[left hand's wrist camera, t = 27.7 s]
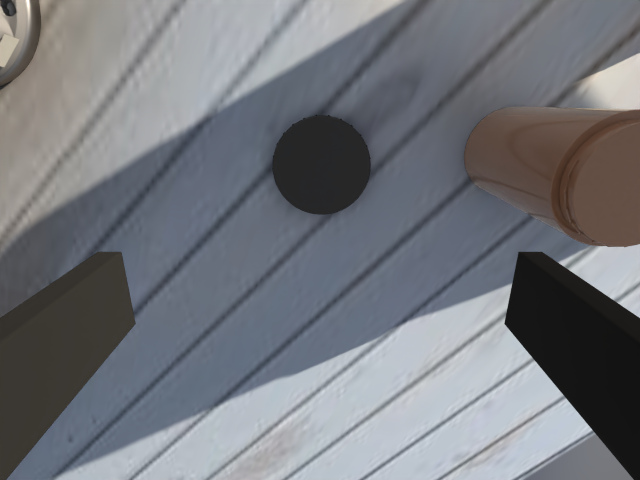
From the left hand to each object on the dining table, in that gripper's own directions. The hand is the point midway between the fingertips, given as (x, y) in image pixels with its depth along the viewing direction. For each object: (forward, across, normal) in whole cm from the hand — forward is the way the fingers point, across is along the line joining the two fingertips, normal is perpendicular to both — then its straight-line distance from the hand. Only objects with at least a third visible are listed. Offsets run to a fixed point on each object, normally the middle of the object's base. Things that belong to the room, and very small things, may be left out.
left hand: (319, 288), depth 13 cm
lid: (+26, 0, 0) cm, 26 cm away
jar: (+28, +19, +1) cm, 33 cm away
